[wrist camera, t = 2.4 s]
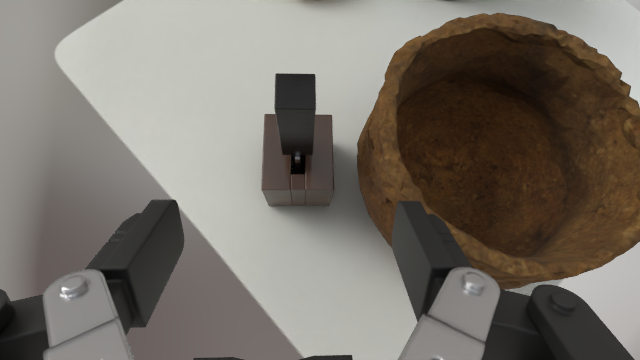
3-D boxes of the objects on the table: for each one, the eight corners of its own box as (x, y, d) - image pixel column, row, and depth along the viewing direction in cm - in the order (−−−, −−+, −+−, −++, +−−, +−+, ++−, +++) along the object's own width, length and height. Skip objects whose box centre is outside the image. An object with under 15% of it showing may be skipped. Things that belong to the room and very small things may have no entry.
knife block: (268, 206, 34) (261, 190, 28) (270, 141, 36) (264, 113, 30) (328, 205, 34) (333, 190, 28) (327, 141, 36) (332, 114, 30)
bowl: (424, 78, 39) (494, -40, 25) (561, 193, 36) (732, 133, 21) (306, 188, 35) (307, 121, 20) (449, 331, 31) (570, 371, 17)
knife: (287, 186, 35) (274, 113, 20) (287, 158, 35) (275, 68, 21) (310, 186, 35) (315, 113, 20) (310, 159, 36) (315, 69, 21)
